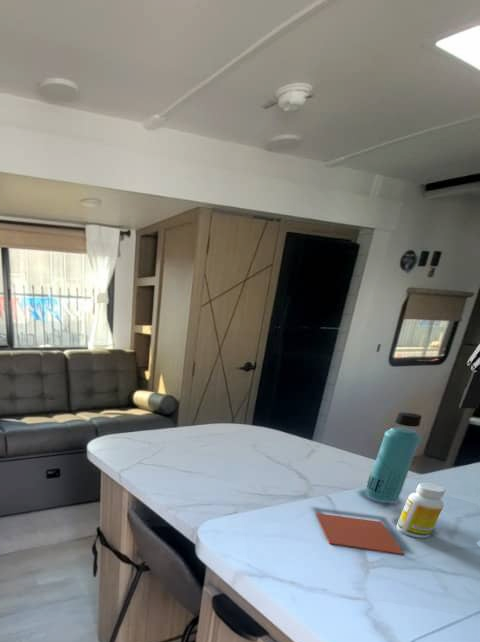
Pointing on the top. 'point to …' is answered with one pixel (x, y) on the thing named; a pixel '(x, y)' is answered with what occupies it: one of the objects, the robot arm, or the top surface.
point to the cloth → (358, 533)
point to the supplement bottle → (421, 511)
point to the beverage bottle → (394, 459)
